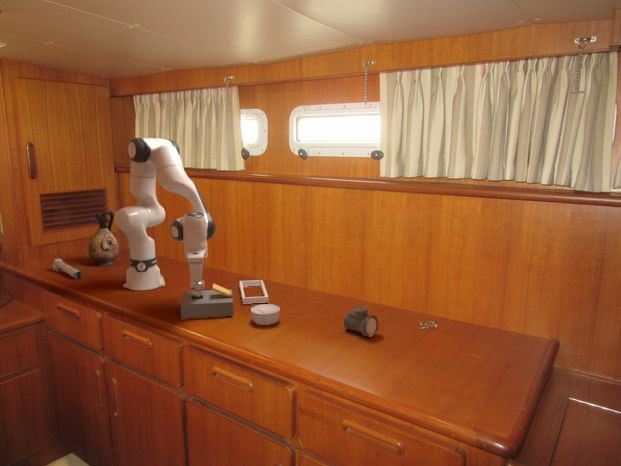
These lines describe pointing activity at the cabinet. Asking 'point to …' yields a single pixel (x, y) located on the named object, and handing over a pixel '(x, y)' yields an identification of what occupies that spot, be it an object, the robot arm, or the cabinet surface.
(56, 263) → the beige knobbed rod
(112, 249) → the ceramic jug
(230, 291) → the yellow rectangular slab
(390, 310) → the cabinet surface
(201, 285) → the steel peg
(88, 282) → the cabinet surface
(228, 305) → the hitch block
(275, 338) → the cabinet surface
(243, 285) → the rectangular frame
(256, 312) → the ramekin
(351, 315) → the pipe fitting
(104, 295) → the cabinet surface
